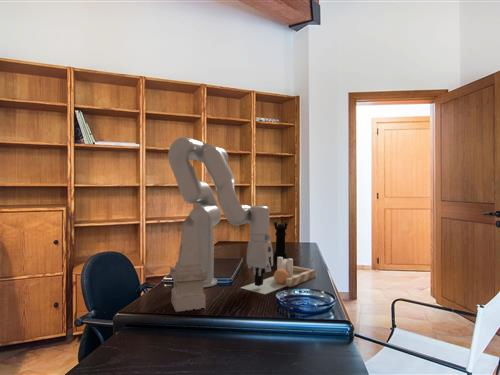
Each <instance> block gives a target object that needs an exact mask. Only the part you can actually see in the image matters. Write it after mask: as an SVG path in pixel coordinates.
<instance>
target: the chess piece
mask: <svg viewBox="0 0 500 375" xmlns="http://www.w3.org/2000/svg"><path fill="white" fill-rule="evenodd" d="M273 226H274V230H275V250H274V253H273V262H277V257H283V260H284V259H289V258H288V253H287V251H286V235H287V232H286V230H287V229H288V228H287V227H288V222H287V221H284V223H282V224H281V223H278V221H274V222H273Z"/></svg>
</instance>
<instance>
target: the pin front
mask: <svg viewBox="0 0 500 375" xmlns="http://www.w3.org/2000/svg"><path fill="white" fill-rule="evenodd" d="M286 268H287V259H284V260H283V262H282V265H281V268H280V269H284V270H286Z"/></svg>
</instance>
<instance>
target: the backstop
mask: <svg viewBox="0 0 500 375" xmlns="http://www.w3.org/2000/svg"><path fill="white" fill-rule="evenodd" d="M286 271H287V268H286ZM293 273H295V274H298V275H295V276H292V277H289V278H287V279H286V286H285V287H287V288H291V287H294V286H297V285H300V284H302V283H304V282H307V281H309V280H311V279H314V278H316V276H317V270H316V269H314V268H313V269H312V268H307V267H302V266H301V267H300V266H295V265H293Z"/></svg>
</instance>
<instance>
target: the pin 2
mask: <svg viewBox="0 0 500 375" xmlns="http://www.w3.org/2000/svg"><path fill="white" fill-rule="evenodd" d="M293 266H294V259H293V258H288V259H287V273H288V278H289V277H292V276H293Z"/></svg>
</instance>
